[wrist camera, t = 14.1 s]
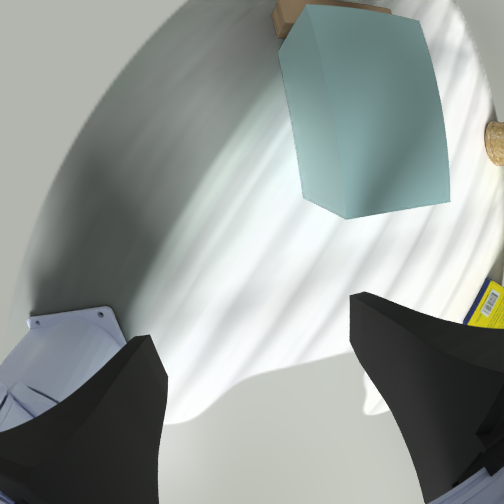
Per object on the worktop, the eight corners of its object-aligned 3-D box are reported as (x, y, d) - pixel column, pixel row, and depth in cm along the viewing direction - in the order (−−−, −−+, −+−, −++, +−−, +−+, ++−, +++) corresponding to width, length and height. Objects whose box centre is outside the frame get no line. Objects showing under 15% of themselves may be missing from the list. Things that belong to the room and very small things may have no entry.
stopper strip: (277, 38, 15) (285, 22, 12) (271, 15, 14) (278, -2, 12) (380, 42, 15) (397, 31, 13) (374, 21, 14) (389, 9, 12)
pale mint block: (303, 198, 18) (346, 219, 12) (277, 52, 15) (306, 4, 9) (386, 186, 19) (450, 201, 12) (364, 53, 15) (418, 21, 9)
